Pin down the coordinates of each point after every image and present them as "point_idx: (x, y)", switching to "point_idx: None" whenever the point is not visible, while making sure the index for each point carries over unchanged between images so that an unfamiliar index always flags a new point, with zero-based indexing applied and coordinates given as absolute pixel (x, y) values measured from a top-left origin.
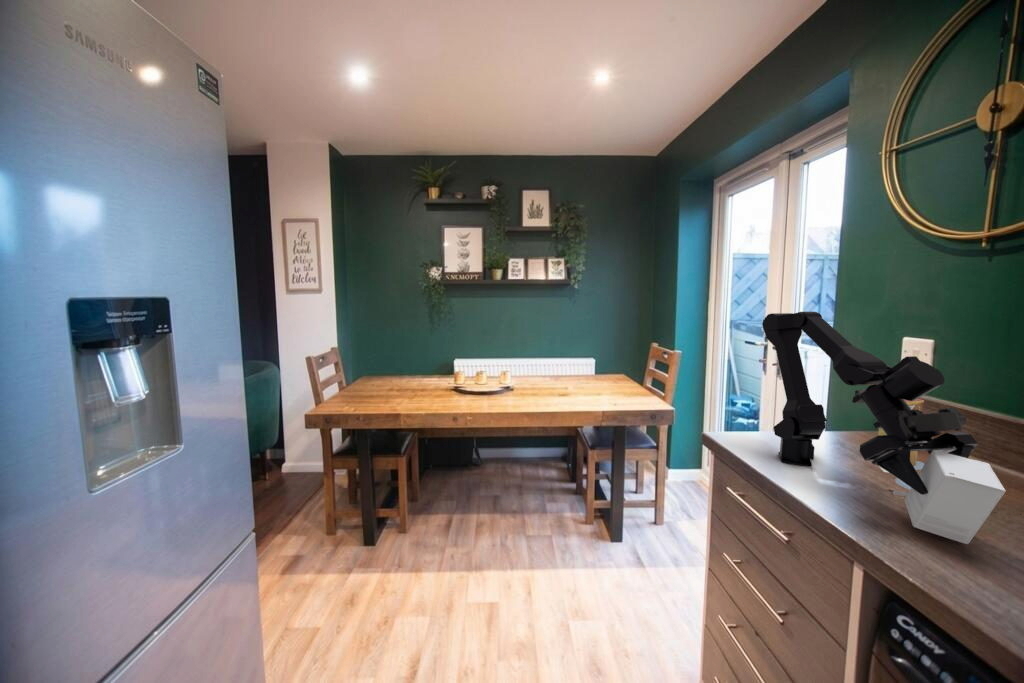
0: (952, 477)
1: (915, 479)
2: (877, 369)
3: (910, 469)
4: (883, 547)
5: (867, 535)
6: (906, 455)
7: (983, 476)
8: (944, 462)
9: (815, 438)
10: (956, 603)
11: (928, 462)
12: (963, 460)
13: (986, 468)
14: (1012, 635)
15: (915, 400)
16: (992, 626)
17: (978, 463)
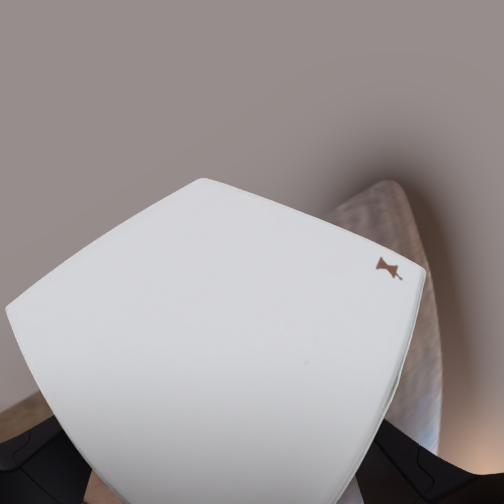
0: (395, 253)
1: (396, 432)
2: None
3: (427, 459)
4: (414, 363)
5: (411, 407)
6: (487, 490)
7: (191, 230)
8: (348, 388)
9: None
10: (404, 225)
11: None
12: (111, 380)
13: (70, 278)
14: (381, 181)
15: None
16: (392, 192)
17: (51, 320)
